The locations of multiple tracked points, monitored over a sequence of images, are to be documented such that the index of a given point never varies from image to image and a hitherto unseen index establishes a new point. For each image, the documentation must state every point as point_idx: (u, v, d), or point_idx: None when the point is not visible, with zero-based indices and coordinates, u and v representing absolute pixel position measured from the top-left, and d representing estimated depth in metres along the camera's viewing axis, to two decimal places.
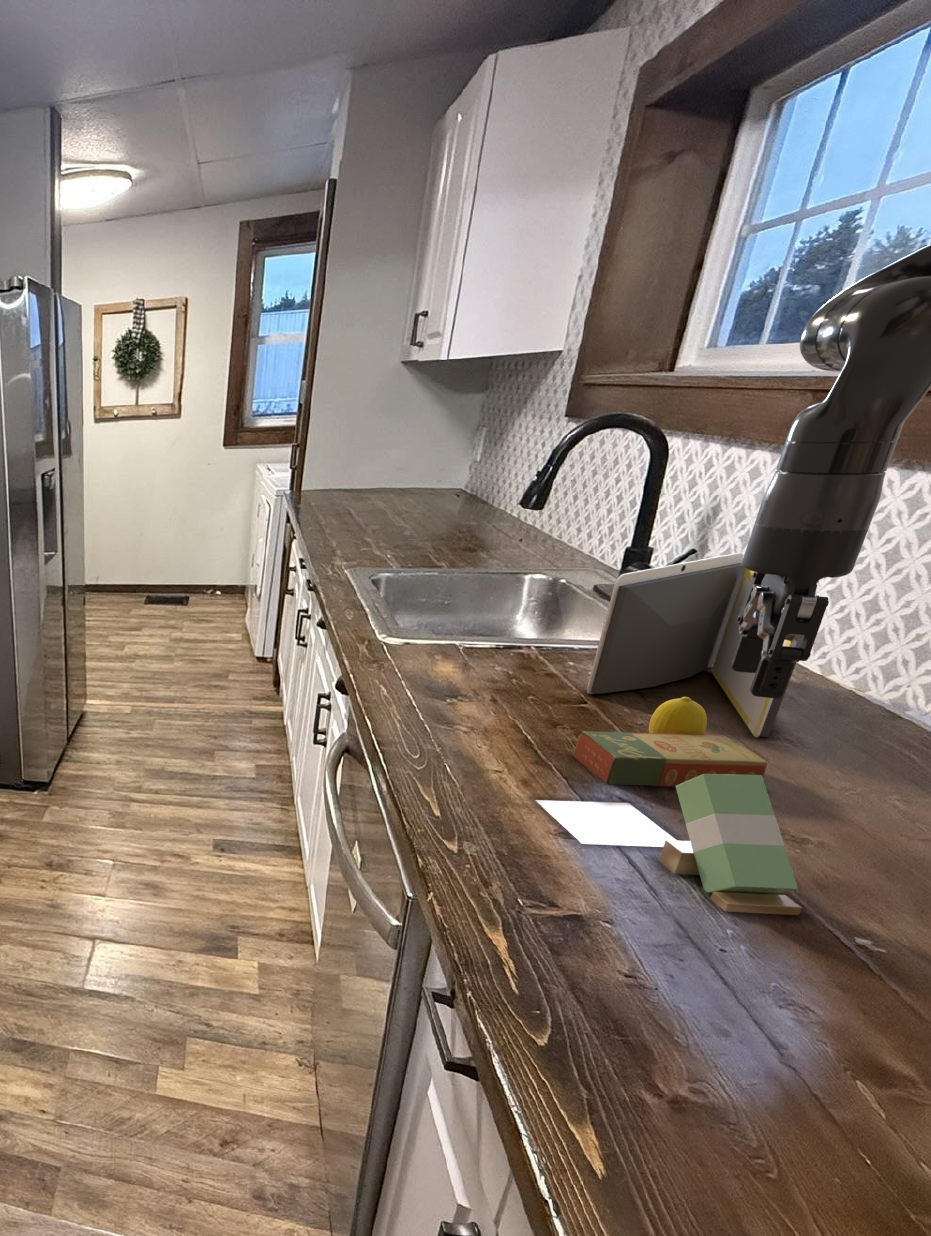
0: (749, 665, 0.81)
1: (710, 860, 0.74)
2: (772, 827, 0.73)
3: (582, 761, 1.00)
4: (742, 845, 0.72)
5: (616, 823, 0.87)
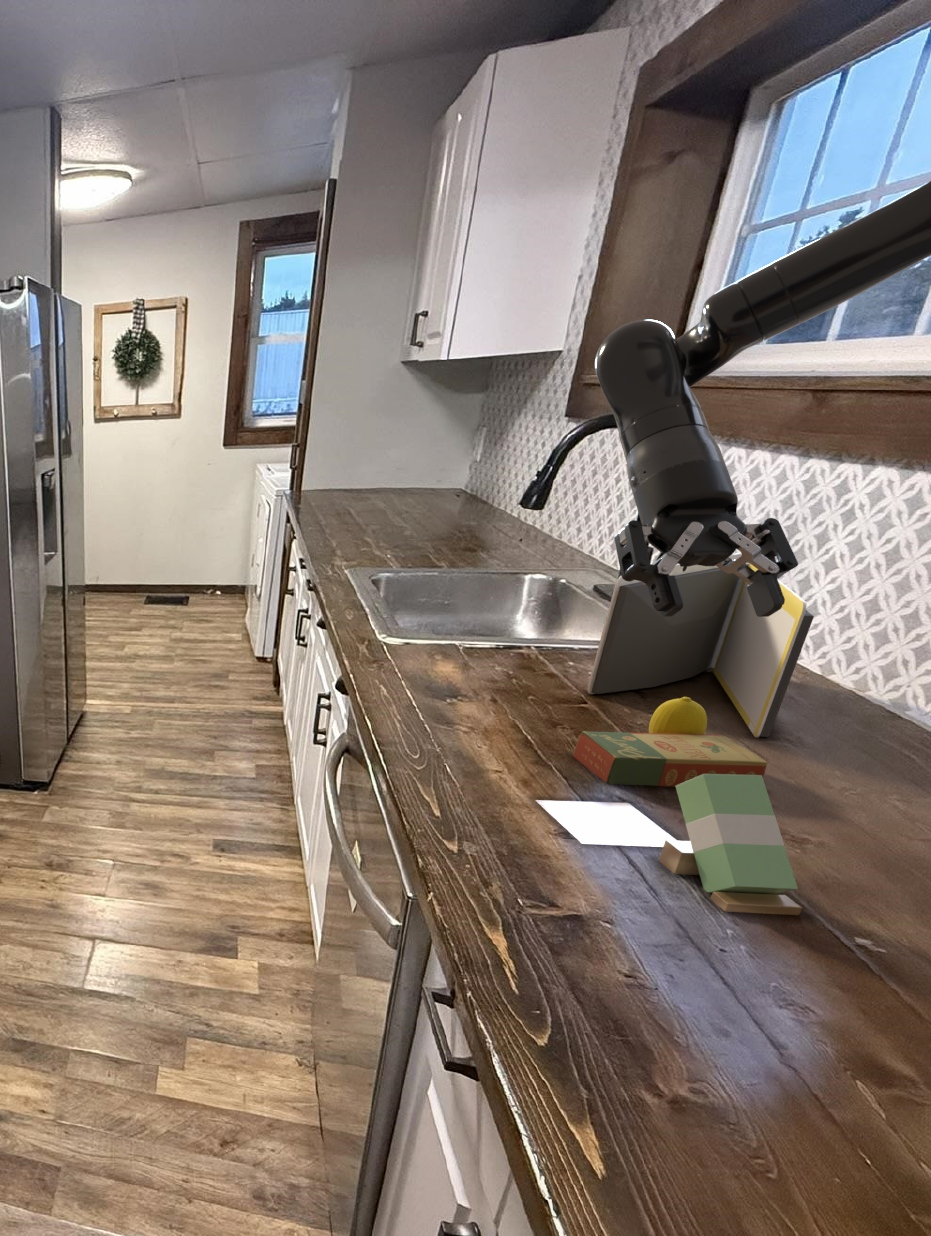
0: (765, 605, 0.76)
1: (710, 860, 0.74)
2: (772, 827, 0.73)
3: (582, 761, 1.00)
4: (742, 845, 0.72)
5: (616, 823, 0.87)
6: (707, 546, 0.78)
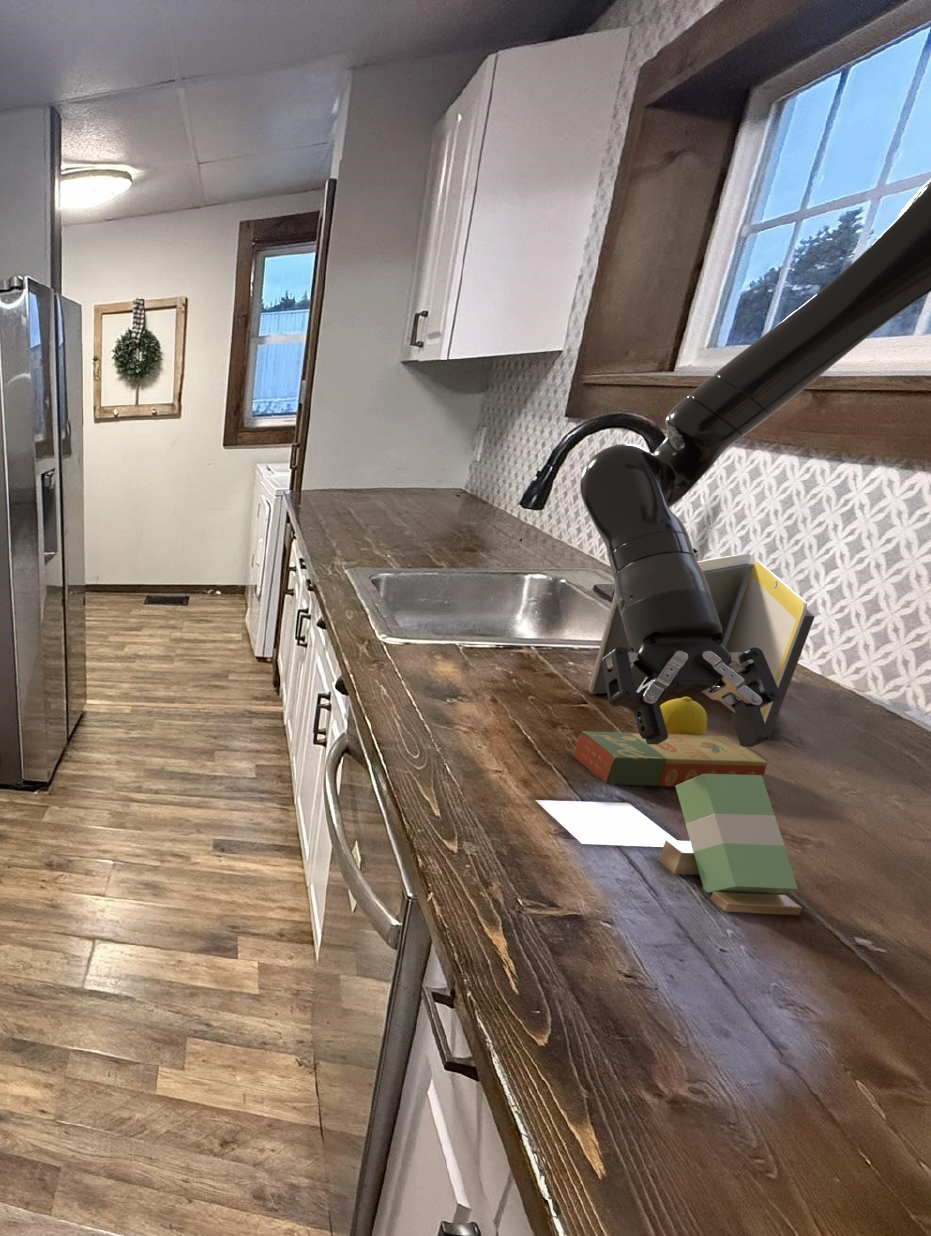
0: (748, 736, 0.78)
1: (710, 860, 0.74)
2: (772, 827, 0.73)
3: (582, 761, 1.00)
4: (742, 845, 0.72)
5: (616, 823, 0.87)
6: (692, 675, 0.80)
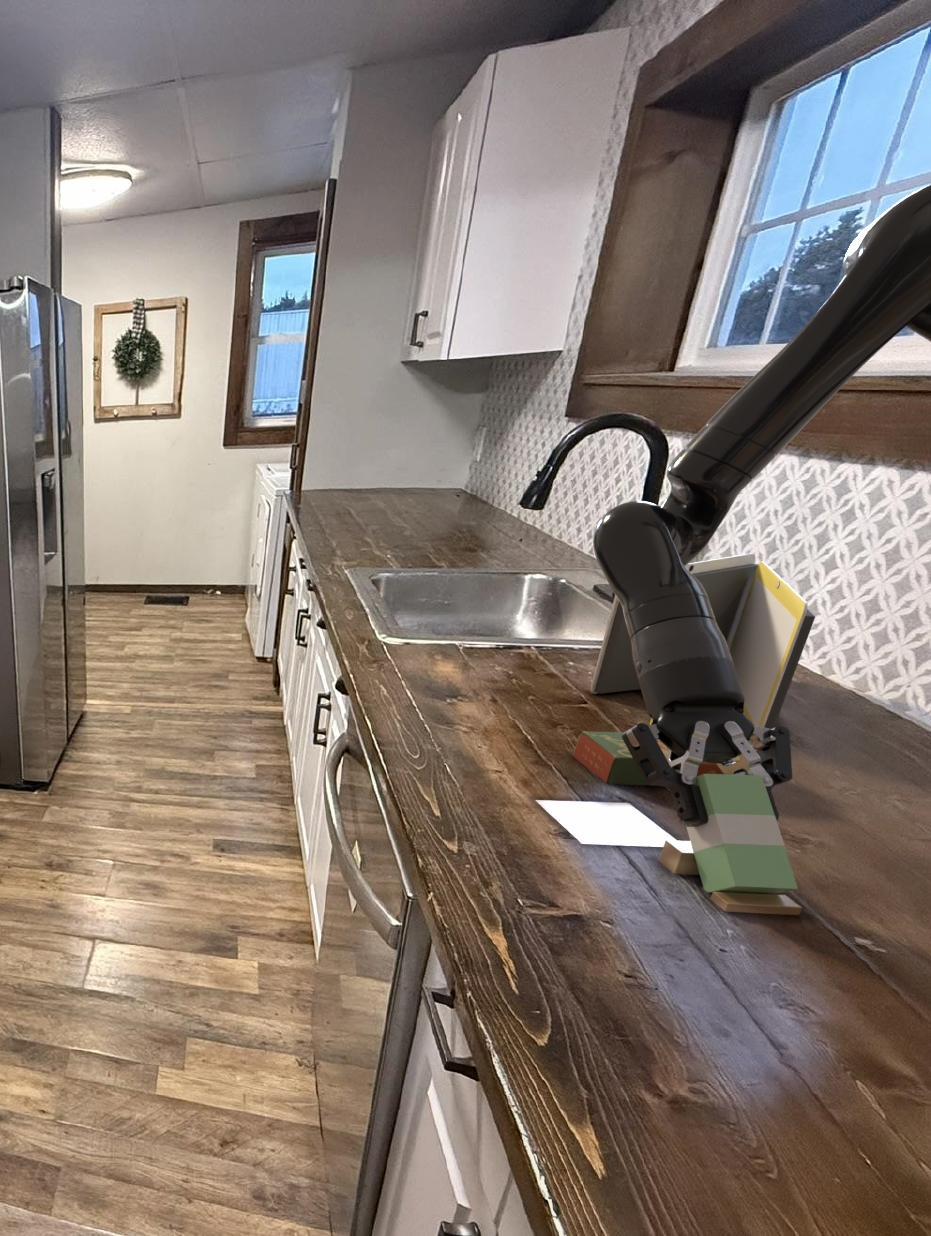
0: None
1: (710, 860, 0.74)
2: (772, 827, 0.73)
3: (582, 761, 1.00)
4: (742, 845, 0.72)
5: (616, 823, 0.87)
6: (714, 746, 0.77)
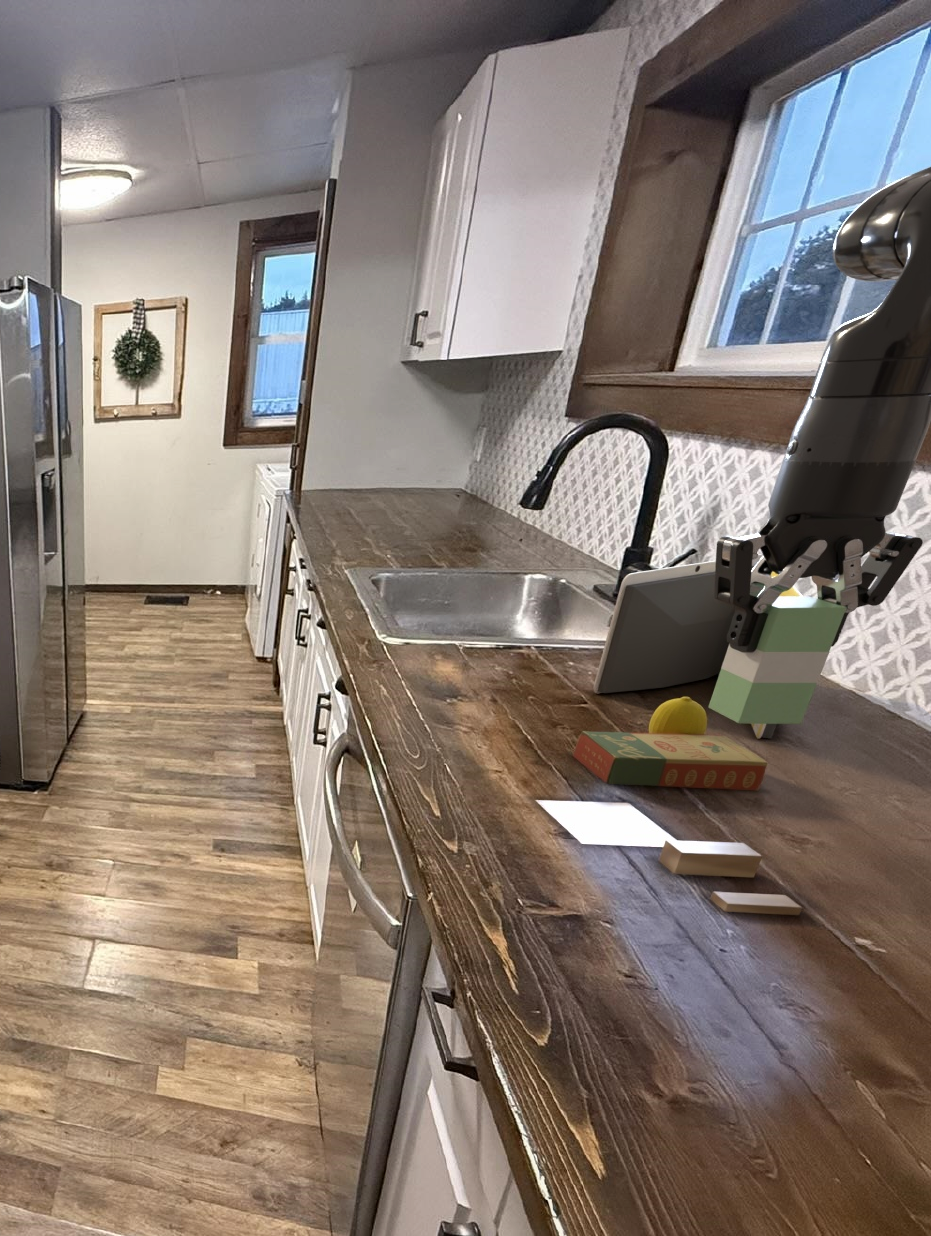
0: None
1: (731, 686, 0.72)
2: (818, 664, 0.68)
3: (582, 761, 1.00)
4: (772, 684, 0.70)
5: (616, 823, 0.87)
6: (816, 566, 0.66)
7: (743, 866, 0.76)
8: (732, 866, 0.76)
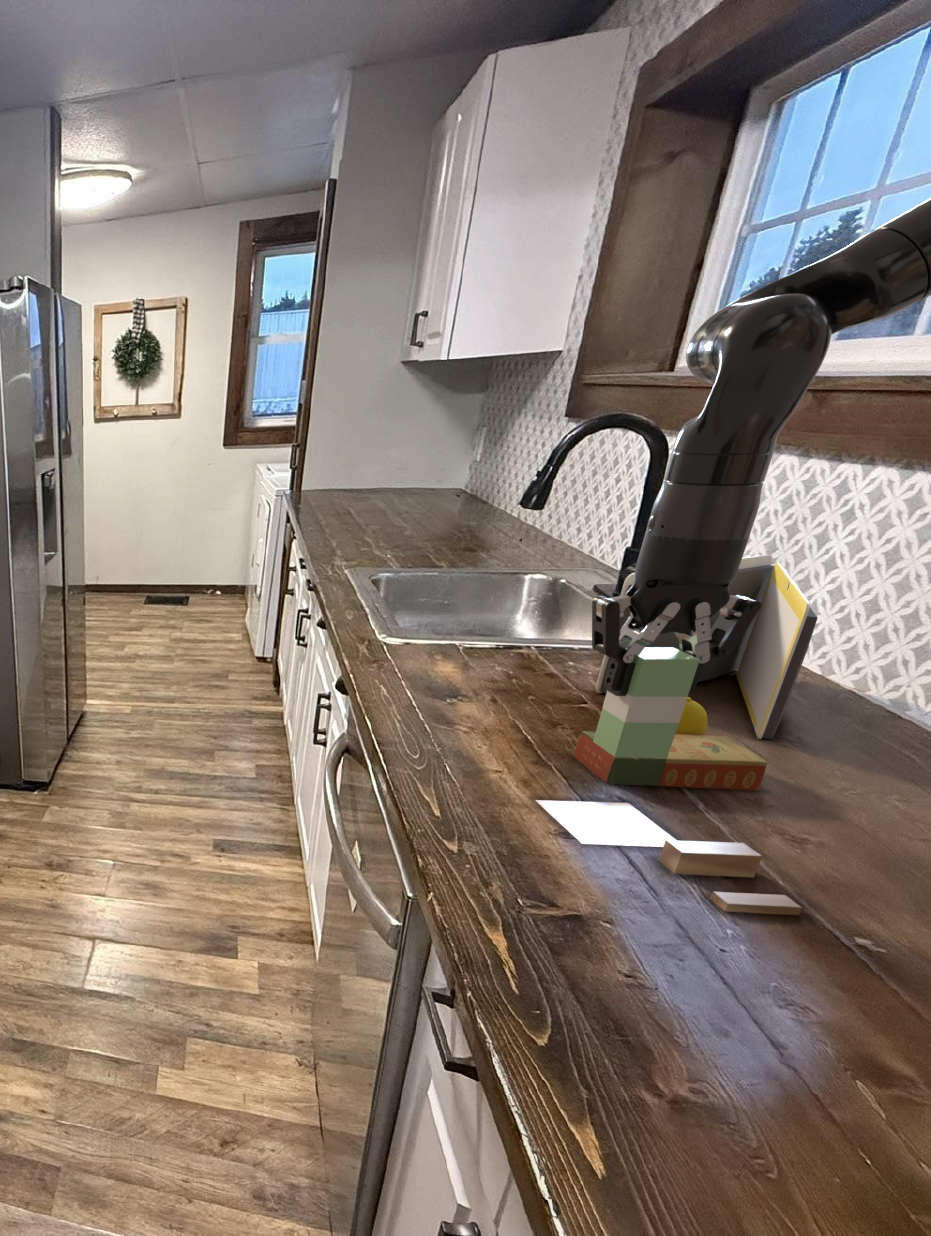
0: None
1: (609, 724, 0.83)
2: (678, 707, 0.79)
3: (582, 761, 1.00)
4: (640, 723, 0.80)
5: (616, 823, 0.87)
6: (674, 624, 0.77)
7: (743, 866, 0.76)
8: (732, 866, 0.76)
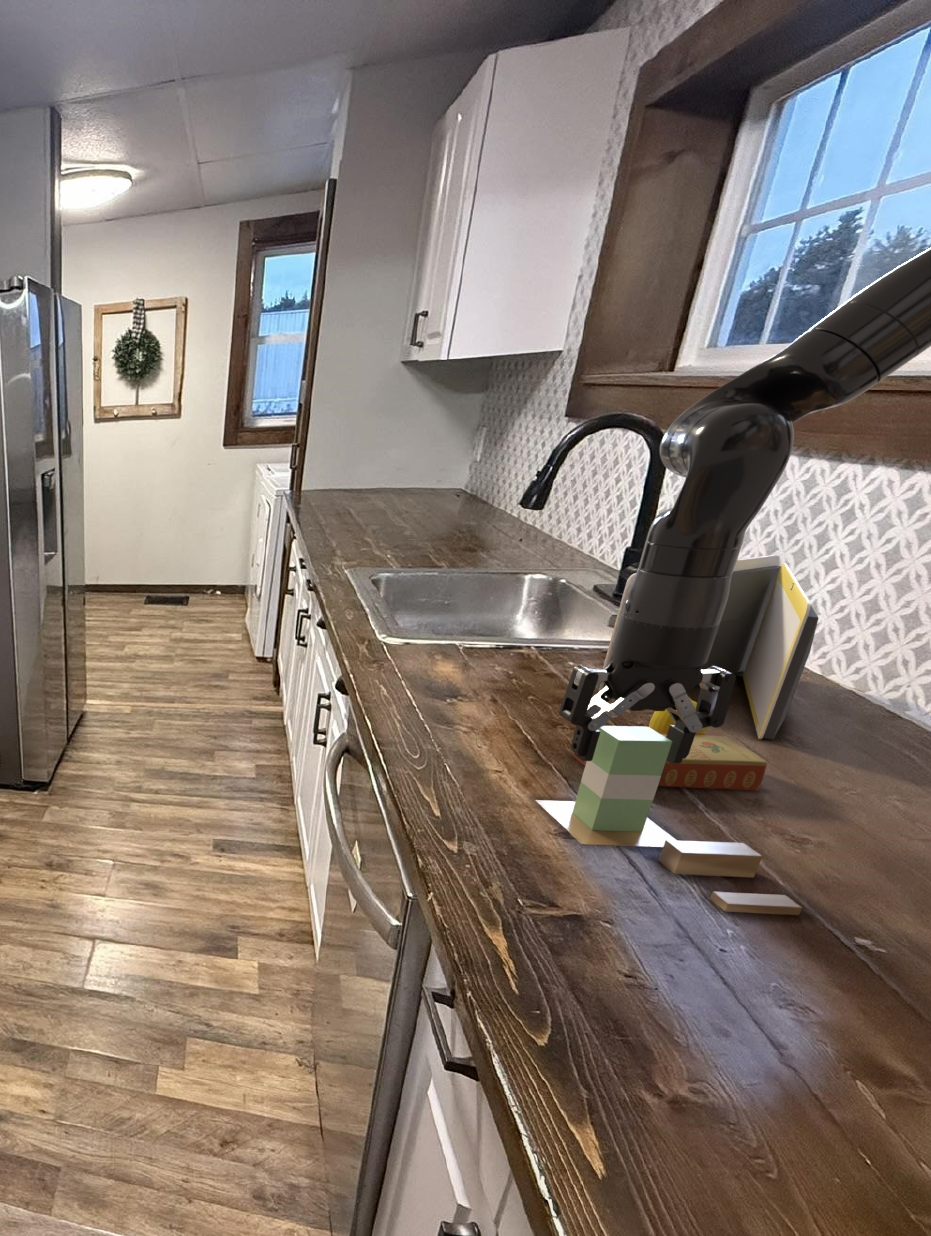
0: (669, 754, 0.83)
1: (587, 798, 0.86)
2: (652, 785, 0.83)
3: (582, 761, 1.00)
4: (616, 799, 0.84)
5: None
6: (649, 702, 0.80)
7: (743, 866, 0.76)
8: (732, 866, 0.76)
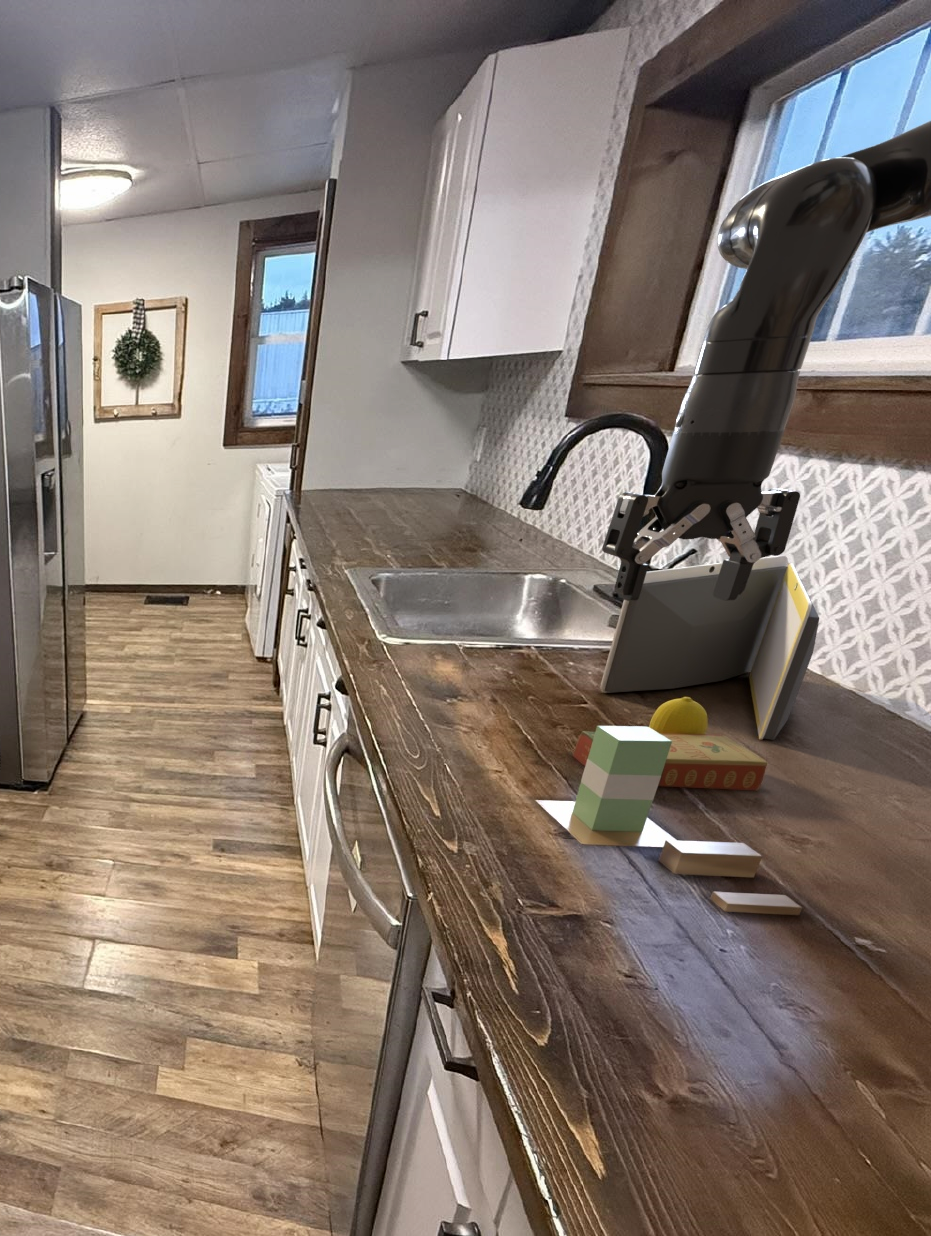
0: (723, 591, 0.76)
1: (587, 798, 0.86)
2: (652, 785, 0.83)
3: (582, 761, 1.00)
4: (616, 799, 0.84)
5: None
6: (703, 528, 0.73)
7: (743, 866, 0.76)
8: (732, 866, 0.76)
